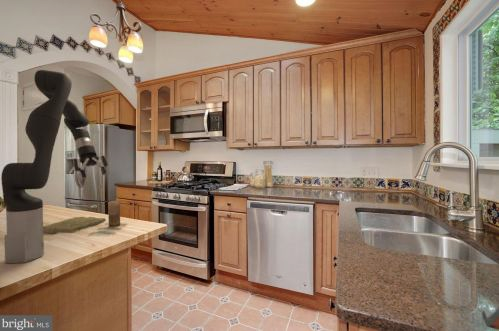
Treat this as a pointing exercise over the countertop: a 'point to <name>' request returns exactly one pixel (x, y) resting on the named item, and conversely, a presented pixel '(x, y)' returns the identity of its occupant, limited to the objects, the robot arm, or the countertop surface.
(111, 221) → the walnut roller
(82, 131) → the robot arm
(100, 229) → the birch board
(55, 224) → the decorative tile
